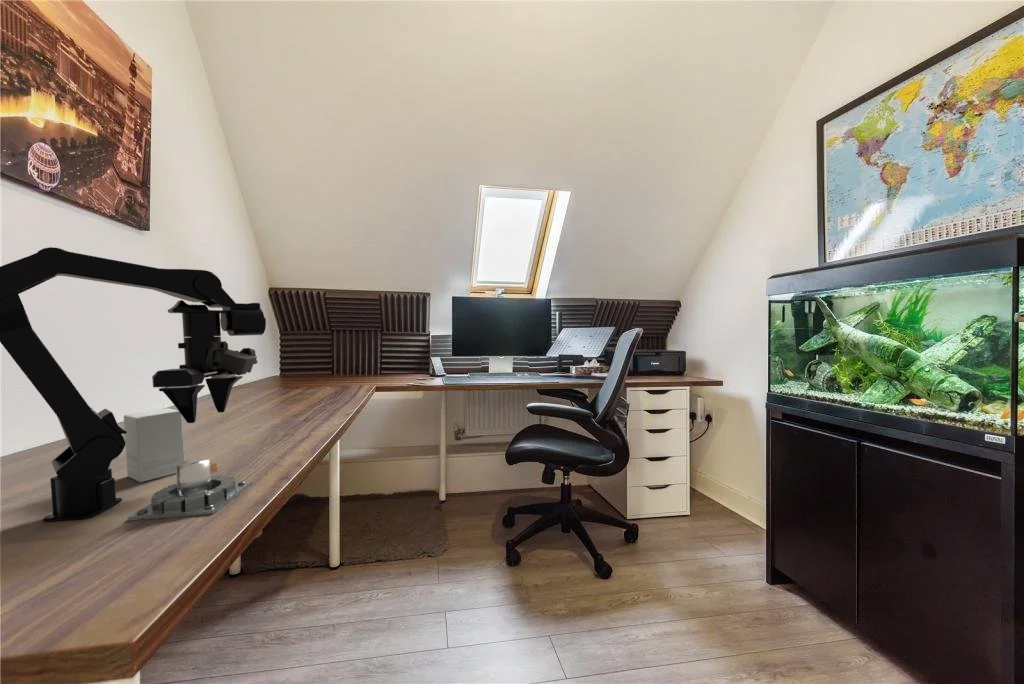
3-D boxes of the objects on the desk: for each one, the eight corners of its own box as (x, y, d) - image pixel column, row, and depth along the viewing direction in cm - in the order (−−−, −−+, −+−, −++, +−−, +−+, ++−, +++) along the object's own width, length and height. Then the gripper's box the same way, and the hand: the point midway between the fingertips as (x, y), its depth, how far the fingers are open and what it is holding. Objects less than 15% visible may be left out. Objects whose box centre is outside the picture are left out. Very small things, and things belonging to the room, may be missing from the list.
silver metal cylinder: (187, 504, 65) (185, 468, 65) (172, 500, 67) (169, 464, 67) (222, 491, 70) (221, 457, 70) (207, 488, 72) (205, 455, 71)
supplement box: (186, 471, 83) (182, 410, 82) (138, 483, 76) (134, 417, 76) (172, 465, 87) (168, 407, 86) (126, 476, 80) (122, 414, 80)
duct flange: (127, 520, 61) (126, 506, 61) (181, 489, 73) (181, 477, 73) (212, 514, 63) (212, 500, 63) (252, 484, 75) (251, 472, 74)
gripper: (219, 337, 69) (223, 426, 69) (270, 334, 87) (273, 405, 88) (147, 338, 67) (153, 430, 68) (214, 336, 86) (218, 408, 87)
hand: (207, 417), depth 78 cm, fingers open, 9 cm apart
